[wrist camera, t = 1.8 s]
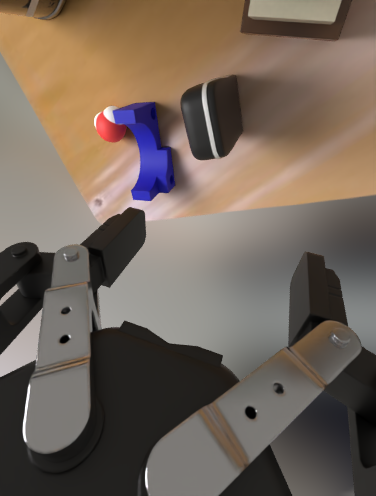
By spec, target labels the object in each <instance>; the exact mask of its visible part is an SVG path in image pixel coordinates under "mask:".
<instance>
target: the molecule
mask: <svg viewBox="0 0 376 496" xmlns="http://www.w3.org/2000/svg"><path fill="white" fill-rule="evenodd" d="M116 109H119V107H117V106H109V107H107V108H106V109H105V110H104V111H103V112H99V113H98V114H97V115H96V116H95V119H94V124H95V127H96V129H97V132H98V134H99V135H100V136H101V137H102V138H103V139H104V140H106V141H108V142H118V141H120V140H121V139H122V138H123V137H124V135H125V133H126V125H124V124H115V120H114V116H113V112H112V111H113V110H116Z"/></svg>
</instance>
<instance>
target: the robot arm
mask: <svg viewBox="0 0 376 496" xmlns="http://www.w3.org/2000/svg"><path fill="white" fill-rule="evenodd" d="M64 3H65V0H0V13H5V14H13V15H20V16H29V17H34V18H38V19H45V20H47V19H52V18H54V17H56V16H57V15H58V14H59V13H60V11H61V10H62V8H63V6H64ZM145 238H146V227H145V212H144V211H143V210H139V209H135V208H131V207H129V208H127V209H126V210H125V211H124V212H123V213H122V214H121V215H120V214H117V215H115V216H113V217H111V218H109V219H108V220H107V221H106V222H104V223H103V225H101V226H100V227H99V228H98V229H97V230H96V231H95V232H94V233H92V234H91V235H90V236H89V237H88V238H87V239H86V240H85V241H84V242H82V243H81V244H80V245H69V246H66V247H63V248H61V249H60V250H58V251H57V252H56V253H44V252H39V249H38V247H37V245H35V244H34V243H31V242H21V243H17V244H14V245H12V246H10V247H8V248H6V249H5V250H4V251H2V252H1V253H0V300H1V298H2V297H3V296H4V295H5V294H6V293H7V292H8V291H9V290H10V289H11V288H12V287H14V286H15V285H16V284H17V286H18V288H19V289H18V290H17V291H16V292H15V293H14V294H13V295H11V297H9V298H8V299H7V300H6V301H5V302H4V303H3V304H2V305H1V306H0V354H2V352H3V351H4V350H5V349H6V348H7V347H8V346H9V345H10V344H11V342H12V341H13V340H14V339H15V338H16V337H17V336H18V334H19V333H20V332H21V331H22V330H23V329H24V328H25V327H26V326H27V324H28V323H29V322H30V321H31V320H32V319H33V318H34V317H35V316H36V314H37V313H38V312H39V311H40V310H41V309H42V308H43V310H42V319H41V326H40V334H39V342H38V350H37V358H36V360H35V361H33V362H31V363H29V364H26V365H25V366H22V367H20V368H18V369H16V370H14V371H12V372H10V373H8V374H6V375H4V376H2V377H0V496H292V494H291V492H290V489H289V487H288V485H287V482H286V480H285V478H284V476H283V474H282V471H281V469H280V467H279V464H278V462H277V460H276V458H275V455H274V453H273V451H272V449H271V446H270V443H271V442H272V441H273V440H274V439H275V438H276V437H277V436H278V435H279V434H280V433H281V432H282V431H283V430H284V429H285V428H286V427H287V426H288V425H289V424H290V423H291V422H292V421H293V420H294V419H295V418H296V417H297V416H298V415H299V414H300V413H301V412H302V411H303V410H304V409H305V408H306V407H307V406H308V405H309V404H310V403H311V402H312V401H313V400H314V399H315V398H316V397H317V396H318V395H319V394H320V393H321V392H322V391H323V390H324V391H325V392H327V393H328V394H330V395H331V396H333V397H334V398H336V399H337V400H338V401H340V402H341V403H343V404H344V405H346V406H347V407H348V419H349V432H350V444H351V457H352V468H353V481H354V493H355V496H376V355H375V354H373V353H371V352H370V351H368V350H366V349H365V348H364V347H362V346H361V342H360V339H359V338H358V336H357V335H356V333H355V332H354V331H353V330H351V329H350V328H349V327H348V323H347V318H346V312H345V307H344V302H343V298H342V291H341V286H340V280H339V278H338V277H337V275H336V274H335V272H334V271H333V270H331V269H327V268H325V262H324V256H322V255H317V254H314V253H310V252H305V253H304V254H303V256H302V258H301V260H300V262H299V264H298V266H297V268H296V270H295V273H294V275H293V277H292V280H291V285H290V307H289V308H290V309H289V343H288V344H289V346H288V347H289V348H288V347H284V348H283V349H281V350H280V351H279V352H277V353H276V354H275V355H274V356H272V357H271V358H270V359H268V360H267V361H266V362H264V363H263V364H262V365H261V366H259V367H258V368H257V369H255V370H254V371H253V372H252V373H250V374H249V375H248V376H246V377H245V378H244V379H242V380H241V381H239V379H238V378H237V377H236V376H235V375H234V374H233V372H232V371H231V370H229V369H228V368H227V367H226V366H224V365H223V364H221V361H222V357H223V355H220V354H217V353H215V352H212V351H209V350H206V349H203V348H201V347H198V346H189V345H179V344H170V343H167V342H166V341H164V340H163V339H162V338H160V337H159V336H157V335H156V334H154V333H153V332H151V331H150V330H148V329H147V328H144V327H141V326H138V325H136V324H133V323H130V322H127V321H124V322H123V324H122V325H121V327H120V328H119V327H113V328H112V327H111V328H105V329H102V327H101V319H100V306H99V295H98V288H99V287H100V286H101V285H103V286H106V287H109V288H110V287H111V285H112V284H113V283H114V282H115V280H116V279H117V278H118V276H119V275H120V274H121V273H122V271H123V270H124V269H125V267H126V266H127V265H128V264H129V262H130V261H131V260H132V258H133V257H134V256H135V255H136V253H137V252H138V251H139V250H140V248H141V247H142V246H143V244H144V242H145Z"/></svg>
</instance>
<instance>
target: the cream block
mask: <svg viewBox="0 0 376 496" xmlns="http://www.w3.org/2000/svg"><path fill="white" fill-rule="evenodd" d="M341 1H342V0H250V6H249V12H248V16H249V17H250V18H252V19H255V20H270V21H285V22H300V23H315V24H330V25H331V24H332V23H333V22H335V19H336V16H337V13H338V10H339V7H340V4H341Z"/></svg>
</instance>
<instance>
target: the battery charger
mask: <svg viewBox="0 0 376 496" xmlns="http://www.w3.org/2000/svg"><path fill="white" fill-rule="evenodd" d="M181 110H182V115H183V119H184V123H185V128H186V132H187V136H188V140H189V144H190V148H191V151H192V154H193V156H194V157H195V158H196V159H199V160H209V159H215V158H216V159H220V158H222V157H225V156H227V155H228V154H229V153H230V151H231V150H232V148H233V147H234V145H235V143H236V142H237V140H238V138H239V136H240V135H241V134H242V132H243V126H242V118H241V110H240V102H239V95H238V87H237V80H236V76H235V75H227V76H225V77H220V78H215V79H212V80H209V81H207V82H205V83H202V84H199V85H196V86H194V87H192V88H190V89H188V90H187V91H186V92H185V93H184V94H183V95H182V98H181Z"/></svg>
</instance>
